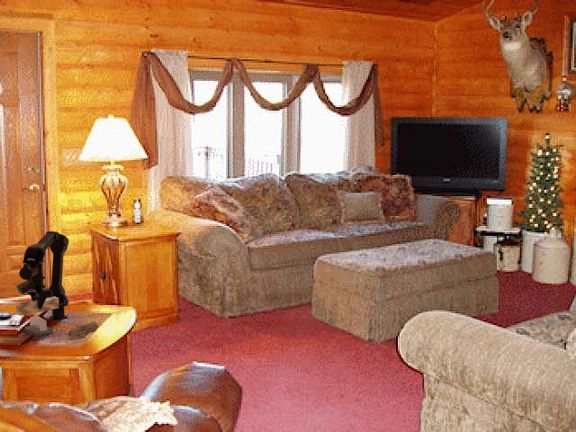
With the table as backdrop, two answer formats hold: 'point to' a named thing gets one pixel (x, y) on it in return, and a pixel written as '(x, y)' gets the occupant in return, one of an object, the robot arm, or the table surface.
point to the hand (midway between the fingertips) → (37, 308)
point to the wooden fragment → (82, 331)
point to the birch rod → (36, 306)
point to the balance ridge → (38, 327)
